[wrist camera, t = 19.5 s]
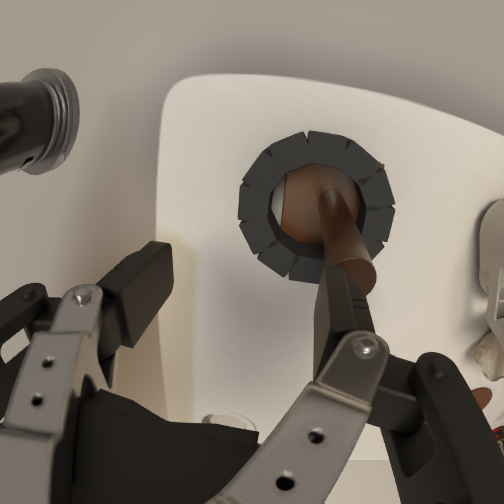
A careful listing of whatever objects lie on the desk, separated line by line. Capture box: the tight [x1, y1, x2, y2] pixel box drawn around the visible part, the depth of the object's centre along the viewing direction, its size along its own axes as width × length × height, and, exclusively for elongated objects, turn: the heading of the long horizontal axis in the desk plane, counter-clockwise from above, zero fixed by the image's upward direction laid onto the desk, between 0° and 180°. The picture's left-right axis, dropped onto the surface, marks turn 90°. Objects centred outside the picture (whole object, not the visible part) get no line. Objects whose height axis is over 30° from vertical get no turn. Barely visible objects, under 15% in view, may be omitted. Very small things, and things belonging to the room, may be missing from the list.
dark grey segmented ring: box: [238, 131, 395, 284], centre depth 20 cm, size 10×10×2 cm
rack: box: [280, 162, 384, 295], centre depth 17 cm, size 7×7×12 cm
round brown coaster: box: [471, 388, 492, 410], centre depth 29 cm, size 8×8×2 cm
